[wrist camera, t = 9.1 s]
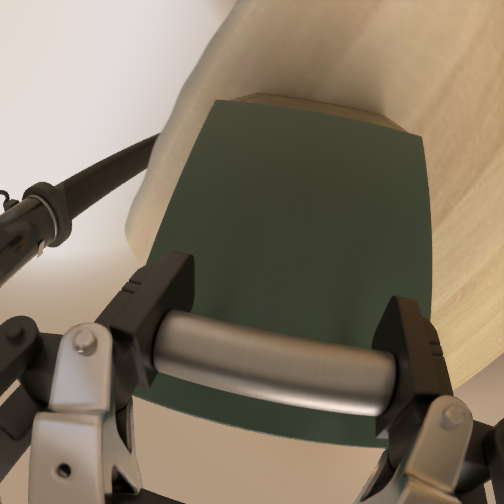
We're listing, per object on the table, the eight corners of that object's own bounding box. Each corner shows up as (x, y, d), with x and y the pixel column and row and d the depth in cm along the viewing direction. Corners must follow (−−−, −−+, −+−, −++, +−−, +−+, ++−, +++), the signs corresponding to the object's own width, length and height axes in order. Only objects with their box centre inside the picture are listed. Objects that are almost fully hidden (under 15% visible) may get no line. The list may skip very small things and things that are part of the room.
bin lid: (402, 446, 10) (476, 472, 5) (117, 386, 12) (35, 380, 7) (417, 144, 16) (450, 75, 11) (216, 108, 18) (203, 33, 13)
